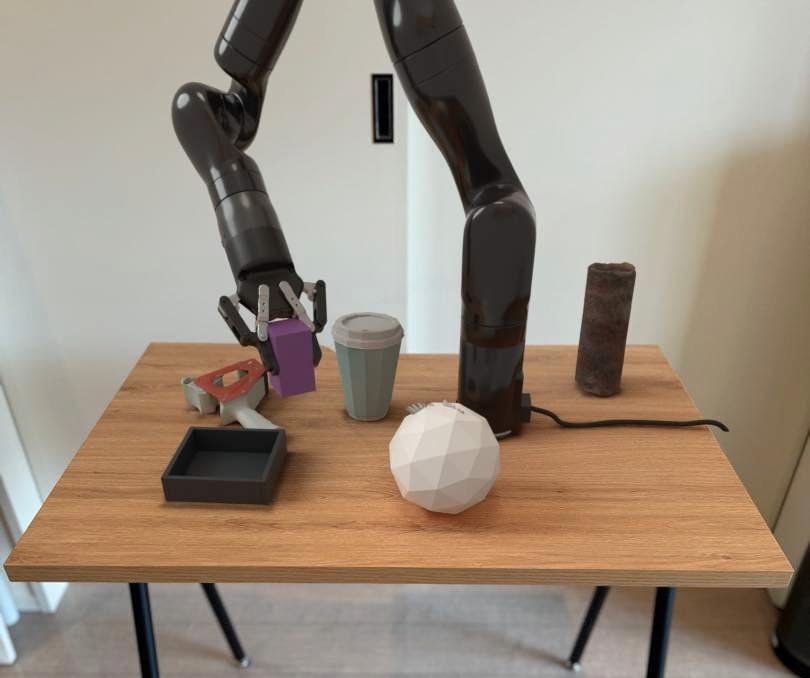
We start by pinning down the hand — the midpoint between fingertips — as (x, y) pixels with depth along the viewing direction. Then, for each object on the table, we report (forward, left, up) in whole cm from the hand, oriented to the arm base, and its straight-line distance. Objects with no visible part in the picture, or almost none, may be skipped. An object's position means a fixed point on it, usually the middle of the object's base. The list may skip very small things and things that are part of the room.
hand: (296, 368), depth 97 cm
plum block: (+1, -2, -3) cm, 4 cm away
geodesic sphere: (-18, +3, -17) cm, 25 cm away
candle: (-42, -32, -17) cm, 56 cm away
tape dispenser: (+14, -18, -17) cm, 28 cm away
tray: (+11, -1, -17) cm, 20 cm away
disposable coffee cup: (-6, -21, -17) cm, 28 cm away
